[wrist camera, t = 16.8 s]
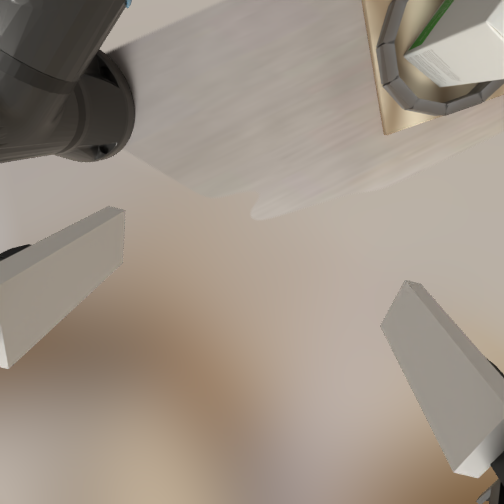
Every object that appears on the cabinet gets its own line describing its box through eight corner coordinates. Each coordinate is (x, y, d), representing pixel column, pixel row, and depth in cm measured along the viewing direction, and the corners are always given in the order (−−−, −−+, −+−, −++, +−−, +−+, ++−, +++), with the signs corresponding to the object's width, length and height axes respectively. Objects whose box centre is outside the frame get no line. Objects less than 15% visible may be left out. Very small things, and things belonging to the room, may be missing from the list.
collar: (384, 134, 39) (393, 136, 36) (360, -6, 33) (369, -21, 30) (516, 88, 36) (541, 85, 33) (516, -77, 30) (546, -102, 27)
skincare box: (456, -18, 31) (602, -130, 17) (498, 22, 33) (668, -53, 18) (399, 59, 35) (483, 18, 21) (439, 93, 36) (545, 76, 22)
